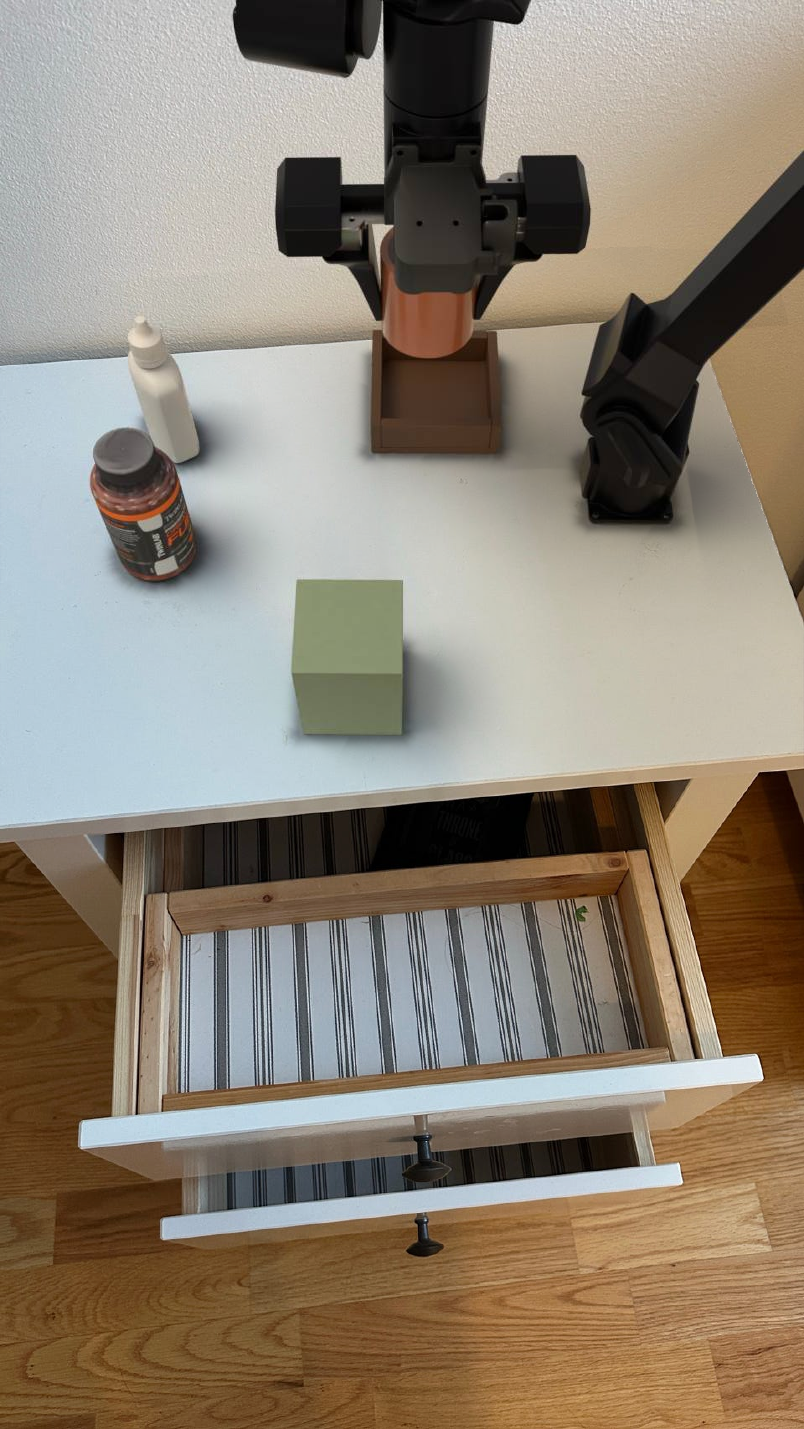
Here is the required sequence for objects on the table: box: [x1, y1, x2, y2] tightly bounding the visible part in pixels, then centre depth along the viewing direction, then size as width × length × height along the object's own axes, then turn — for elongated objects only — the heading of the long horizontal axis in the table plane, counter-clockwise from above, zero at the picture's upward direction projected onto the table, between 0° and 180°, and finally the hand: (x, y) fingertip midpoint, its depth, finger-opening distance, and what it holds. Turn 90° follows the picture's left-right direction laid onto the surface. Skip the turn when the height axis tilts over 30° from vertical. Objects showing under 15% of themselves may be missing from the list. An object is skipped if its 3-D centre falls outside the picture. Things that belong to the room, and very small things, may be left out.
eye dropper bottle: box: [127, 315, 200, 464], centre depth 74 cm, size 4×6×12 cm
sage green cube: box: [290, 578, 404, 736], centre depth 65 cm, size 7×7×9 cm
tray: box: [370, 329, 503, 454], centre depth 79 cm, size 10×10×3 cm
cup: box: [379, 226, 478, 358], centre depth 65 cm, size 6×6×6 cm
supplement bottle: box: [89, 426, 198, 582], centre depth 69 cm, size 6×6×11 cm
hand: (427, 316), depth 67 cm, fingers closed on cup, 6 cm apart
